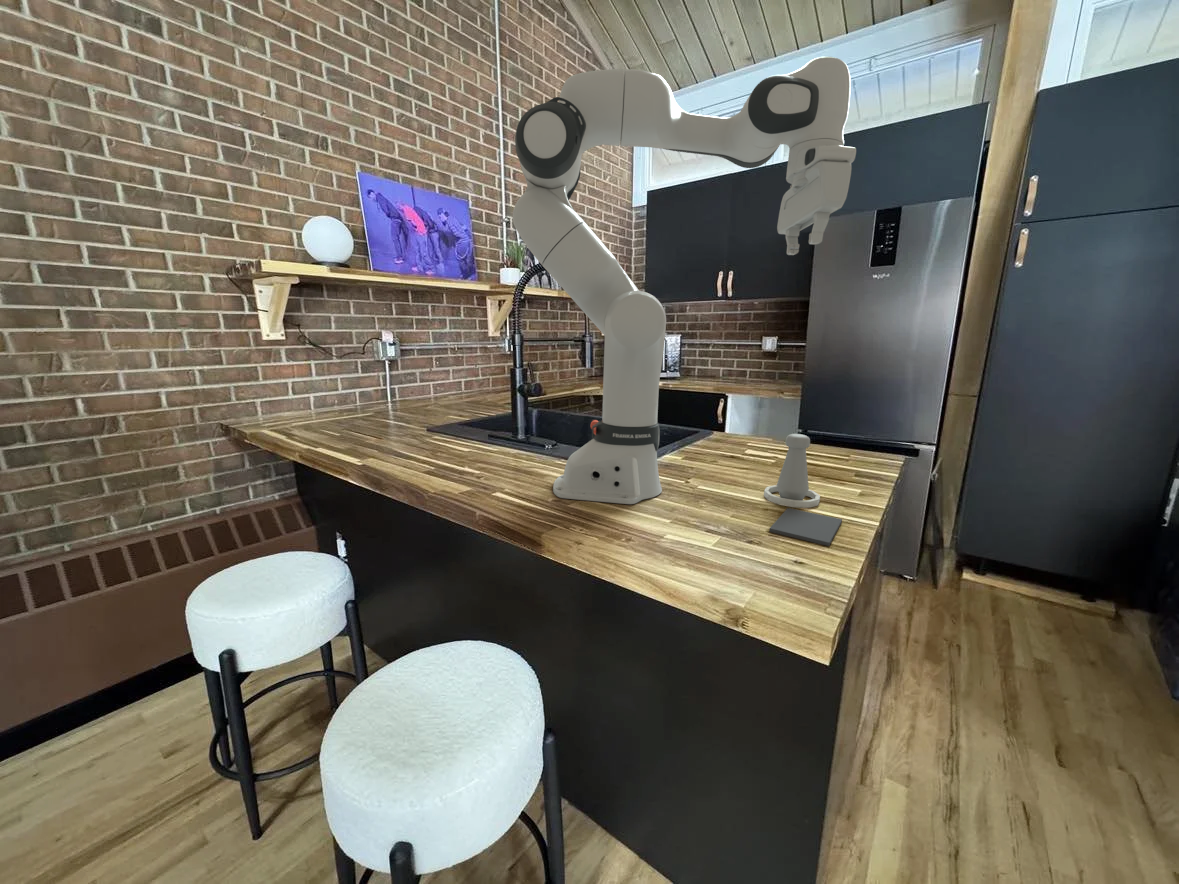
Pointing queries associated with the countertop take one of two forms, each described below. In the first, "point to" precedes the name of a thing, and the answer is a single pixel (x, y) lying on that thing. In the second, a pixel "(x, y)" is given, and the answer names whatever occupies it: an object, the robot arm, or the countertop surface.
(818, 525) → the rubber mat
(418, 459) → the countertop surface
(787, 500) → the ceramic ring
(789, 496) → the salt shaker
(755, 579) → the countertop surface
